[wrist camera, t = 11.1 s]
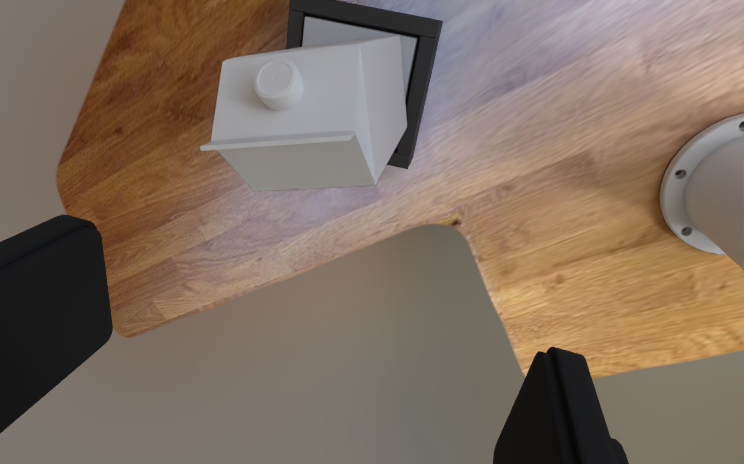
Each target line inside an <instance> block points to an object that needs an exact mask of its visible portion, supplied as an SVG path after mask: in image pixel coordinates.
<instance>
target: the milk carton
mask: <svg viewBox="0 0 744 464" xmlns="http://www.w3.org/2000/svg"><path fill="white" fill-rule="evenodd" d="M406 128H407V117H406V104H405V92H404V79H403V66H402V54H401V41H400V35H391V36H383V37H374V38H366V39H358V40H350V41H341V42H333V43H325V44H317V45H311V46H305V47H298V48H292V49H285V50H279V51H273V52H266V53H260V54H254V55H247V56H241V57H235V58H230V59H227V60H225V61H223V63H222V69H221V76H220V83H219V90H218V96H217V103H216V110H215V116H214V123H213V130H212V137H211V142H209V143H207V144H205V145H202V146H200V150H201V151H207V150H217V151H218V152H219V153H220V154H221V155H222V157H223V158H224V159H225V160H226V161H227V162H228V163H229V164H230V166H231V167H232V168H233V169H234V170H235V171H236V172H237V173H238V174H239V176H240V177H241V178H242V179H243V180H244V181H245V182H246V183H247V184H248V186H249V187H250V188H251V189H252V190H253V191H278V190H299V189H320V188H341V187H362V186H375V185H376V183H377V181H378V179H379V177H380V176H381V174H382V172H383V170H384V168H385V167H386V165H387V163H388V161H389V159H390V157H391V156H392V154H393V152H394V150H395V148H396V146H397V145H398V143H399V141H400V139H401V137H402V135H403V134H404V132H405V130H406Z"/></svg>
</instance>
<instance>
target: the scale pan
mask: <svg viewBox="0 0 744 464" xmlns="http://www.w3.org/2000/svg"><path fill="white" fill-rule="evenodd" d="M391 35H400V34H395V33H390V32H385V31H380V30H375V29H370V28H365V27H360V26H355V25H350V24H345V23H340V22H335V21H330V20H325V19H320V18H314V17H305V21H304V32H303V43H302V47H305V46H311V45H317V44H325V43H333V42H341V41H350V40H358V39H366V38H374V37H383V36H391ZM400 41H401V54H402V66H403V79H404V92H405V101H406V96H407V91H408V86H409V81H410V76H411V71H412V66H413V61H414V56H415V52H416V47H417V42H418V38H416V37H411V36H406V35H400Z"/></svg>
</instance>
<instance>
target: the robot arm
mask: <svg viewBox="0 0 744 464" xmlns="http://www.w3.org/2000/svg"><path fill="white" fill-rule="evenodd" d="M742 122H743V123H742ZM741 123H742V125H741V126H739V125H740V124H741ZM678 170H679V172H678V173H677V174H675V173H676V172H677V171H678ZM659 199H660V207H661V212H662V214H663V217H664V219H665V222H666V223H667V224H668V226H669V227H670V229H671V230H672V231H673V232H674V233H675V234H676V235H677V236H678V237H679V238H680V239H681V240H683V241H684V242H686V243H687V244H688V245H690V246H692V247H694V248H697V249H699V250H701V251H704V252H709V253H713V254H720V255H728V256H729V257H730V258H731V259H732V260H733V261H734V262H736V263H737V264H738V265H739V266H740V267H741V268H742V269H743V270H744V113H742V114H738V115H735V116H732V117H729V118H726V119H723V120H721V121H719V122H717V123H715V124H713V125H711V126H709V127H707V128H706V129H704V130H703V131H701V132H700V133H698V134H697V135H695V136H694V137H693V138H692V139H691V140H690V141H689V142H687V143H686V144H685V145H684V146H683V147H682V148H681V149H680V151H679V152H678V153H677V154H676V156H675V157H674V158H673V159H672V161H671V163H670V165H669V166H668V168H667V170H666V172H665V174H664V177H663V180H662V183H661V188H660V197H659ZM683 228H684V229H683ZM112 330H113V326H112V318H111V310H110V302H109V294H108V285H107V277H106V269H105V261H104V253H103V245H102V237H101V234H100V233H99V231H97V228H96V226H95V225H94V223H92V222H90V221H88V220H84V219H80V218H77V217H73V216H69V215H60V216H57V217H54V218H52V219H50V220H48V221H46V222H43V223H41V224H39V225H37V226H35V227H33V228H30V229H28V230H26V231H24V232H21V233H19V234H17V235H15V236H13V237H10V238H8V239H6V240H4V241H2V242H0V433H1V432H2V431H4V430H5V429H6V428H7V427H8V426H9V425H10V424H12V423H13V422H14V421H15V420H16V419H18V418H19V417H20V416H21V415H22V414H24V413H25V412H26V411H27V410H28V409H29V408H30V407H32V406H33V405H34V404H35V403H36V402H37V401H39V400H40V399H41V398H42V397H43V396H45V395H46V394H47V393H48V392H49V391H50V390H52V389H53V388H54V387H55V386H56V385H58V384H59V383H60V382H61V381H62V380H63V379H65V378H66V377H67V376H68V375H69V374H70V373H72V372H73V371H74V370H75V369H76V368H77V367H79V366H80V365H81V364H82V363H83V362H85V361H86V360H87V359H88V358H89V357H90V356H92V355H93V354H94V353H95V352H96V351H97V350H99V349H100V348H101V347H102V346H103V345H104V344H105V343H106V342H107V341H108V340H109V338H110V336H111V334H112ZM493 464H629V463H628V460H627V457H626V454H625V452H624V450H623V447H622V445H621V444H620V443H619V442H618V441H617V440H616V439H612V438H610V435H609V432H608V428H607V425H606V422H605V419H604V416H603V413H602V410H601V407H600V403H599V400H598V397H597V394H596V391H595V387H594V384H593V381H592V378H591V375H590V372H589V369H588V365H587V362H586V360H585V358H584V356H583V355H581V354H577V353H573V352H570V351H566V350H562V349H559V348H555V347H550V348H549V349H548V351H547V352H546V353H544V352H540V351H539V352H538V353H537V354H536V356H535V357H534V360H533V362H532V364H531V366H530V369H529V371H528V373H527V376H526V378H525V380H524V382H523V385H522V387H521V389H520V391H519V394H518V396H517V398H516V400H515V403H514V405H513V407H512V410H511V412H510V414H509V416H508V418H507V421H506V423H505V425H504V427H503V430H502V432H501V435H500V437H499V439H498V441H497V444H496V446H495V451H494V458H493Z"/></svg>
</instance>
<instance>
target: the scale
mask: <svg viewBox="0 0 744 464" xmlns="http://www.w3.org/2000/svg"><path fill="white" fill-rule="evenodd" d="M305 17H314V18H320V19H325V20H330V21H335V22H340V23H345V24H350V25H355V26H360V27H365V28H370V29H375V30H380V31H385V32H390V33H395V34H400V35H406V36H411V37H416V38H418V42H417V47H416V52H415V56H414V61H413V66H412V71H411V76H410V81H409V86H408V91H407V96H406V101H405V104H406V117H407V128H406V130H405V132H404V134H403V135H402V137H401V139H400V141H399V143H398V145H397V146H396V148H395V150H394V152H393V154H392V156H391V157H390V159H389V161H388V163H387V165H392V166H396V167H401V168H405V169H408V167H409V165H410V163H411V161H412V158H413V154H414V150H415V145H416V141H417V136H418V132H419V127H420V123H421V118H422V113H423V109H424V104H425V100H426V95H427V91H428V86H429V82H430V77H431V73H432V68H433V64H434V59H435V55H436V50H437V45H438V41H439V36H440V32H441V27H442V23H443V21H440V20H435V19H430V18H425V17H419V16H414V15H409V14H404V13H399V12H393V11H388V10H383V9H378V8H373V7H368V6H362V5H357V4H352V3H347V2H342V1H337V0H290V10H289V20H288V33H287V46H286V49H292V48H298V47H302V43H303V32H304V21H305Z"/></svg>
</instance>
